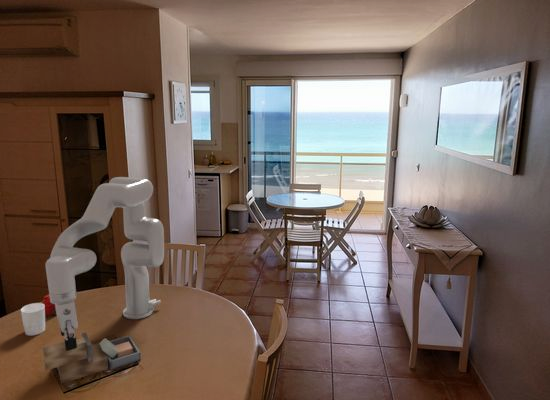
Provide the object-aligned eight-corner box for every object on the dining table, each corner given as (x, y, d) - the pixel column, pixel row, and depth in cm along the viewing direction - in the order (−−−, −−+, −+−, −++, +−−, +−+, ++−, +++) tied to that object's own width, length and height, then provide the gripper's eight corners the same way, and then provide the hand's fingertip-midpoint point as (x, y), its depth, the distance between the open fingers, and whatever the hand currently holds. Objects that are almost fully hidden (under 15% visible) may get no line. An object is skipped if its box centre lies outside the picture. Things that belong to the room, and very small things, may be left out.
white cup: (36, 338, 151) (33, 313, 148) (18, 335, 152) (15, 311, 150) (51, 327, 158) (49, 304, 156) (34, 324, 160) (32, 301, 157)
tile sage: (109, 350, 141) (114, 345, 142) (112, 358, 137) (118, 352, 138) (99, 343, 138) (104, 337, 139) (102, 350, 134) (108, 344, 135)
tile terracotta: (114, 345, 142) (114, 351, 142) (117, 352, 138) (118, 358, 138) (128, 341, 145) (129, 347, 145) (132, 348, 141) (132, 354, 141)
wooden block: (100, 352, 143) (100, 342, 142) (108, 368, 134) (107, 358, 133) (56, 365, 135) (55, 355, 134) (61, 383, 126) (60, 372, 125)
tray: (130, 342, 149) (129, 335, 149) (140, 360, 139) (140, 352, 138) (101, 350, 144) (101, 343, 143) (110, 369, 133) (110, 361, 133)
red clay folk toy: (54, 308, 173) (51, 276, 170) (65, 312, 170) (62, 279, 167) (37, 315, 167) (34, 282, 164) (48, 319, 164) (45, 285, 161)
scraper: (87, 347, 138) (86, 332, 137) (92, 361, 131) (91, 344, 130) (43, 360, 131) (42, 343, 130) (46, 374, 124) (45, 357, 122)
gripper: (81, 302, 122) (86, 351, 126) (71, 281, 135) (76, 325, 140) (53, 309, 118) (60, 359, 122) (46, 286, 131) (52, 332, 135)
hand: (69, 341), depth 131 cm, fingers open, 9 cm apart
